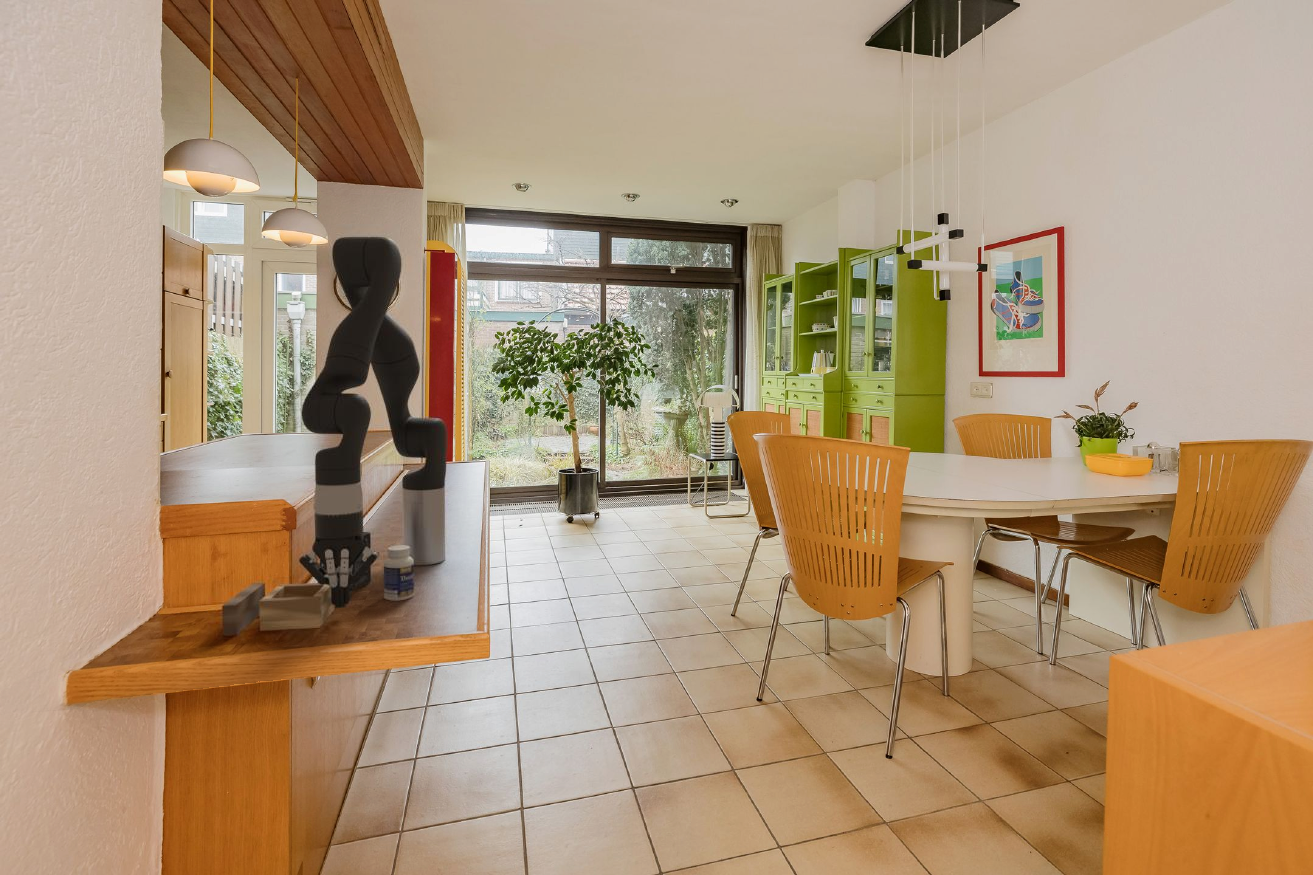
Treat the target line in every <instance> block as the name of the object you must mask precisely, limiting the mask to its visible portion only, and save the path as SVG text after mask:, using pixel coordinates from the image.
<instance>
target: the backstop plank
mask: <svg viewBox="0 0 1313 875" xmlns="http://www.w3.org/2000/svg"><path fill="white" fill-rule="evenodd" d="M265 596H266V582H253V583H251V584H250V585H248V586H246V587H245V588H244V589H242V591H240V592H239V593H237V594H236V595H235V596H234V597H232V598H230V599H229V600H228V601H226V602H225V603H224V604H223V605H222V606H221V611H222V612H221V613H222V637H230V636H238V635H239V634H240V633H242V631H244V630H245V629H246V628H247V627H248V626H249V625H251V624H252V622H254V621H255V620H256V619H257V618H258V617H260V610H259V601H260V600H261V599H263V598H264V597H265Z"/></svg>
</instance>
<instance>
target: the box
mask: <svg viewBox="0 0 1313 875" xmlns="http://www.w3.org/2000/svg"><path fill="white" fill-rule="evenodd" d="M363 537H364V539H365V541H366V543H367V546H366V547H368V548H369V549H371V544H372V542H371V541H372V540H371V537H372V536H371V532H370V531H369V532H368V531H363ZM371 550H372V549H371ZM363 556H364V554H363V552H362V554H361V555H360V556H359V558H358V559H357V560H356V562H355V563H354V564H353V568H352V575H353V574H355V573H356V572H357V571H358V570H359V569H360V567H361V566H362V565H363V564H364V561H363V559H362V558H363ZM319 564H320V566H321V567H322V568H323V569H324V570H325V571H326V572H327V566H326V565H324V563H323V562H322V561H321V560H320V559H319ZM340 569H341V567H340ZM371 570H372V565H371V566H370V567H369V569H368V570H367V571H366V572H365V574H364V575H363V576H362V577H361V579H360V580H359V581H358V582H357V583H353V584H351V590H355V589H357V588H360V587H363V586H365V585H367V584H369V583H370V582H371V581H372V578H371V575H372V574H371V573H372V571H371ZM327 573H328V572H327ZM340 576H341V574H340Z"/></svg>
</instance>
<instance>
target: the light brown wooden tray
mask: <svg viewBox="0 0 1313 875" xmlns="http://www.w3.org/2000/svg"><path fill="white" fill-rule="evenodd" d="M259 610H260V615H259V631H260V632H262V631H263V632H264V631H265V632H266V631H281V630H282V631H283V630H284V631H285V630H301V629H302V630H303V629H318V628H319V629H320V627H321V626H322V625H323V624H324V623H325V621H327V620H328V618H329V617H330V615H331V614H332V613H333V612H334V611H335V605H332V602H331V587H330V586H329V585H326V584H323V585H322V584H319V583H318V582H316V583H315V582H313V583H311V582H310V583H286V584H282V583H281V584H278V585H277V586H276V587H275V588H273V589H272V590H271V591H270V592H269V593H267V594H265V597H264V598H263V599H261V600H260V601H259Z"/></svg>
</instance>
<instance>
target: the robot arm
mask: <svg viewBox="0 0 1313 875" xmlns="http://www.w3.org/2000/svg"><path fill="white" fill-rule="evenodd" d="M331 253H332V254H331V255H332V256H331V257H332V263H333V268H334V271H335V273H336V276H337V279H338V281H339V284H340V285H341V288H342V290H343V292H344V294H345V298H346V299H347V301H348V304H349V306H350V309H351V311H350V312H349V313H348V314H347V315H346V317H344V318H343V319H342V320H341V322H339V324H338V326H337V327H336V329H335V330H334V331H333V333H332V336H331V338H330V342H329V345H328V350H327V354H326V356H325V357H326V358H325V362H324V366H323V368H322V370H321V372H320V373H319V374H318V377H317V378H316V380H315V382H314V383H313V385H312V387H311V388H310V389H309V391H308V393H307V395H306V397H305V398H304V401H303V404H302V407H301V421H302V423H303V425H304V427H305V428H306V429H307V430H308V431H309V432H311V433H313V434H318V435H342V437H341V440H340V442H339V444H338V445H337V446H333V447H327V448H322V449H320V450H319V451H317V452H316V454H315V458H314V471H315V473H314V475H315V479H314V480H315V481H314V482H315V485H314V486H315V487H314V488H315V489H314V496H313V497H314V498H313V500H314V503H313V510H314V542H313V544H312V547H311V548H312V549H310V551H309V552H307V553H304V554H303V555H302V556H301V557H300V558H299V560H298V562H299V564H301V566H302V567H303V568H304V569H305V570H306V571H307V572H308V573H309V574H310V575H311V576H312V577H313V578H314V580H316V582H317V583H319V584H322V585H323V584H326V585H329V586H330V587H331V602H332V605H334V609H341V608H344V609H345V608H346V607H347V605H349V603H350V602H351V598H352V591H351V590H352V589H351V584H353V583H357V582H358V581H359V580H360V579H361V577H362V576H363V575H364V574H365V572H366V571H367V570H368V569H369V567H370V566H371V567H372V565H373V564H374V562H375V561H376V560H377V559H378V558H379V556H380V552H379V551H377V550H373V549H369V548H368V547H366V546H367V543H366V541H365V539H364V537H363V532H364V504H363V503H364V500H363V499H364V498H363V497H364V496H363V489H362V482H361V481H362V480H361V479H362V476H361V475H362V473H361V472H362V471H361V470H362V469H361V459H362V454H363V448H364V444H365V440H366V436H367V434H368V430H369V426H370V423H371V417H372V410H371V407H370V403H369V402H368V400H367V399H366V398H365V397H364V396H363V395H361V394H359V393H349V392H348V393H346V391H347V390H349V389H350V390H352V389H354V388H358V387H361V386H363V385H364V384H366V382H367V379H368V375H369V372H370V371H369V370H370V367H371V369H372V371H373V374H374V376H375V379H376V382H377V385H378V387H379V391H380V394H381V396H382V400H383V402H384V405H385V410H386V416H387V420H388V422H389V427H390V433H391V437H392V441H393V444H394V447H395V449H396V451H397V453H398V454H399V455H400V456H401V457H404V458H412V459H413V458H414V459H420V458H421V459H425V463H424V465H423V467H421V468H420V469H418V470H416V471H412V472H409V473H407V474H405V475H403V477H402V483H401V484H402V486H401V487H402V488H401V489H402V545H406V546H409V547H410V554H409V556H410V557H411V558H413V560H414V566H428V565H435V564H438V563H442V562H444V561H445V560H446V499H445V498H446V497H445V496H446V493H445V492H446V486H445V485H446V474H447V453H448V450H447V449H448V431H447V425H446V423H445V421H444V420H443V419H441V418H436V417H413V416H412V415H411V413H410V410H409V399H410V396H411V394H412V392H413V389H414V388H415V385H416V384H417V381H418V378H419V375H420V372H421V371H420V370H421V368H420V367H421V366H420V365H421V364H420V361H419V358H418V354H417V352H416V351H417V350H416V347H415V343H414V341H413V339H412V337H411V336H410V335H409V333H408V332H407V331H406V330H405V328H404V327H402V326H401V324H400V323H398V322H397V320H395V319H394V318H393V317H392V316H391V315H390V314H389V313H388V309H389V307H390V304H391V303H392V299H393V297H394V294H395V292H396V290H397V286H398V284H399V282H400V278H401V273H402V267H403V266H402V265H403V264H402V255H401V251H400V249H399V247H398V245H397V244H396V242H395V241H394V240H393V239H391V238H389V237H386V236H346V237H345V236H344V237H340V238H337V239H336V240H334V242H333V246H332V251H331ZM344 392H345V393H344ZM362 552H363V554H364V556H363V558H362V559H363V561H364V564H363V565H362V566H361V567H360V569H359V570H358V571H357V572H356V573H355V574H353V575H352V568H353V564H354V563H355V562H356V560H357V559H358V558H359V556H360V555H361V554H362ZM318 559H319V561H320V560H321V561H322V562H323V563H324V565H326V566H327V572H328V573H327V572H326V571H325V570H324V569H323V568H322V567H321V566H320V562H318ZM340 567H341V569H340ZM340 574H341V576H340Z"/></svg>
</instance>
